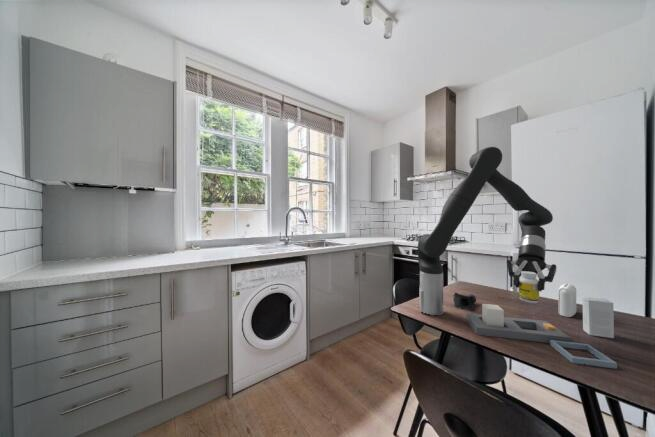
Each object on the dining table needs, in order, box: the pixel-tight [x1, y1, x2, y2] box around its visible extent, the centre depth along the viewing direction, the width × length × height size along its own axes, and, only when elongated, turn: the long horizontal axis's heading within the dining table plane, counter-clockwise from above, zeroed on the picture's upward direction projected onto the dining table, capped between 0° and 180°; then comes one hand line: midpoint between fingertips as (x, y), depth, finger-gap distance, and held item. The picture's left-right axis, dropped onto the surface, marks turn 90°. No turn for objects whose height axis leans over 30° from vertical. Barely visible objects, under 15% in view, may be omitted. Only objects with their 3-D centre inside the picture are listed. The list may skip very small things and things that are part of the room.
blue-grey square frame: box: [549, 340, 618, 370], centre depth 68 cm, size 10×10×2 cm
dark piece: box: [452, 292, 477, 312], centre depth 107 cm, size 9×8×12 cm
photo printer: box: [557, 283, 577, 318], centre depth 97 cm, size 10×4×12 cm, turn 123°
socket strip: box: [465, 303, 571, 344], centre depth 83 cm, size 26×12×8 cm, turn 74°
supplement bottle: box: [518, 271, 540, 304], centre depth 81 cm, size 5×5×10 cm
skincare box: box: [581, 296, 615, 339], centre depth 80 cm, size 6×4×12 cm
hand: (528, 288), depth 80 cm, fingers closed on supplement bottle, 5 cm apart
